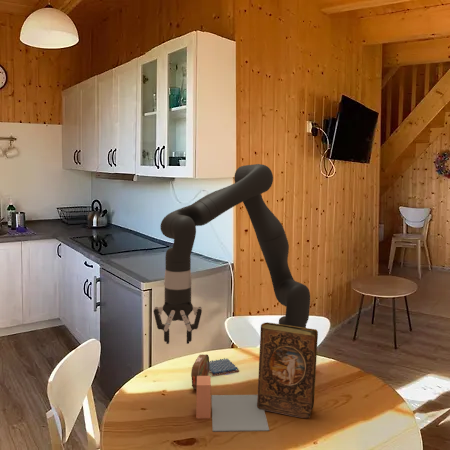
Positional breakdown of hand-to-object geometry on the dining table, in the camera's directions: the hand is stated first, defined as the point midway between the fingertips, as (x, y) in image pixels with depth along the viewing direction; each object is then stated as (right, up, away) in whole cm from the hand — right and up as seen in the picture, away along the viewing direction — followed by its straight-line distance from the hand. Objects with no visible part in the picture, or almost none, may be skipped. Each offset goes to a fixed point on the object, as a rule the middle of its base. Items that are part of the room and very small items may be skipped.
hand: (177, 342), depth 138 cm
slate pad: (+17, -21, +4) cm, 28 cm away
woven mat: (+12, -18, +33) cm, 40 cm away
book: (+31, -21, +5) cm, 38 cm away
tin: (+5, -19, +22) cm, 30 cm away
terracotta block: (+7, -21, +3) cm, 23 cm away
